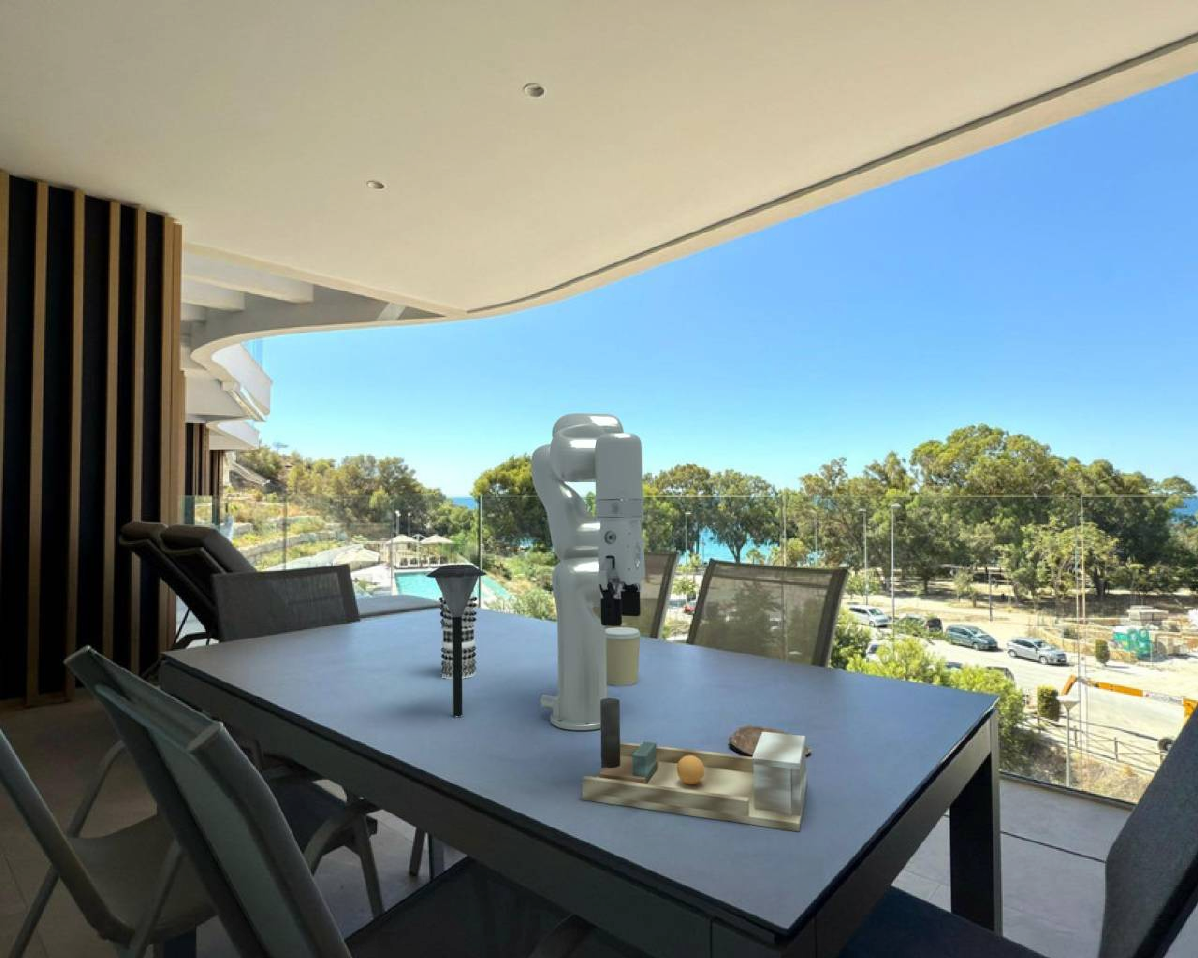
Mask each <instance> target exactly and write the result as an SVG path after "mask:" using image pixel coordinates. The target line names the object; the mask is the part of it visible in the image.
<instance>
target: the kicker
mask: <svg viewBox="0 0 1198 958" xmlns="http://www.w3.org/2000/svg"><path fill="white" fill-rule="evenodd" d="M620 703H621V702H620V699H619V698H614V697H607V698H605V699H601V700H600V728H599V729H600V768H601V770H600V772H599V773H598V775H599V778H605V779H613V780H620V781H628V782H635V783H642V784H646V783H647V782H648V780H649V779H650V778H651V776H652V775H653V773H654V772H655V771H656V769H657V768H658V767H659V766H658V760H657V749H656V746H657V742H651V741H645V740H644V741H643V742H642V743H640V744H641V745H640V747H639V748H638V749H637V750H636V751H635V752H634V754H633V755H632V757H629V756H621V755H620V742H621V717H620V715H621V711H620V707H621V706H620V705H621V704H620Z"/></svg>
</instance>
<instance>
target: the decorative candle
mask: <svg viewBox="0 0 1198 958" xmlns="http://www.w3.org/2000/svg"><path fill="white" fill-rule="evenodd" d="M477 600H478V597H476V596H475V591H474V589H473V591H472V594H471V596H470V598H469V601H468V603H467V605H466V608H465V610H464V612H463V615H462V679H463V678H468V677H472V676H474V675H475V674H476V675H477V673H476V670H477V667H476V664H477V660H476V659H475V657H476V656H477V653H476V652H475V650H477V647H476V646H475V645H476V643H475V641H476V639H475V629H476V627H477V625H476V624H474V623H475V622H476V621H477V618H476V617H474V616H476V615H477V614H478V612H477V611H475V609H474V608H476V607H477V606H478V604H477V603H476V602H475V601H477ZM438 601H439V602H440V603H441V604H440V606H439V607H438V609H439V610H440V612H439V615H440V617H441V620H440V625H441V627H440V630H442V641H441V646H442V647H441V649H440V651H441V654H440V655H441V656H440V657H441V659H442V661H441V662H440V666H441V669H440V671H441V673H442V674H441V675H442V677H445V678H449V679H453V627H452V614H451V612H450V610H449V608H448V606H447V603H446V601H445V599H444V597H443V595H442V594H441V597H439V598H438ZM442 677H441V678H442ZM472 678H473V677H472Z"/></svg>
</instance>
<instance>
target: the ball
mask: <svg viewBox="0 0 1198 958" xmlns="http://www.w3.org/2000/svg"><path fill="white" fill-rule="evenodd" d="M677 773H678V776H679V778H680V779H681V780H682V781H683V782H684V783H686V784H690V785H692V784H696V783H698V782H699V781H700V780H701V779H702V777H703V775H704V766H703V764H702V762H701V760H700V759H699V758H697V757H696V756H693V755H687V756H684V757H683V758H681V759H680V761H679V762H678V765H677Z"/></svg>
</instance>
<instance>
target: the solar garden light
mask: <svg viewBox="0 0 1198 958" xmlns="http://www.w3.org/2000/svg"><path fill="white" fill-rule="evenodd" d="M487 575H488V573H487V572H485V571H483V570H481V569H480V568H478V567H476V566H474V565H471V564H449V565H448V564H447V565H441V566H439V567H438V568H436V569H434V570H433V571H431V572H429V573H428V574H426V575H425V577H426V578H431V579H435V581H436V583H437V586H438V588H439V590H440V592H441V596H442V595H443V597H444V599H445V601H446V603H447V606H448V608H449V610H450V612H451V614H452V627H453V680H452V716H453V715H454V716H461V715H462V716H463V680H462V615H463V612H464V610H465V608H466V605H467V603H468V601H469V598H470V596H471V594H472V591H473V590H474V589H475V586H476V585H477V582H478V581H479V577H483V576H484V577H485V576H487Z"/></svg>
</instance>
